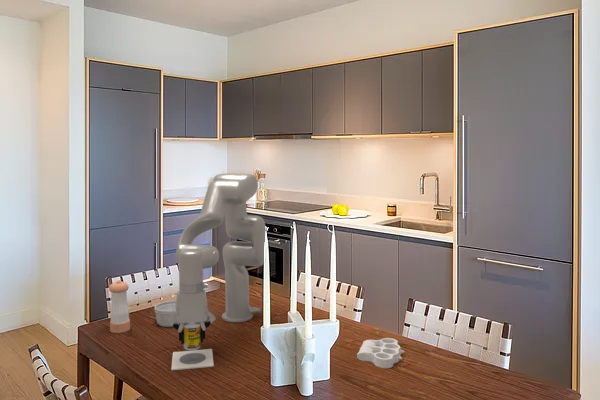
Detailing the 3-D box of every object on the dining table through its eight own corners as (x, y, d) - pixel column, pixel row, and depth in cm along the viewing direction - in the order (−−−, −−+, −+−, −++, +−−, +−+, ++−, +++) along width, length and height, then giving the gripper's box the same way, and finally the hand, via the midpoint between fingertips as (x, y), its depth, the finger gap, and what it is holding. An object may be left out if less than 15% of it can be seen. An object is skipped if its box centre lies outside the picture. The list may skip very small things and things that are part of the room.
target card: (212, 350, 165) (212, 348, 164) (213, 366, 152) (213, 365, 152) (172, 353, 162) (172, 351, 162) (171, 370, 149) (171, 368, 149)
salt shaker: (134, 327, 185) (132, 279, 183) (121, 334, 178) (119, 284, 176) (118, 325, 188) (117, 277, 186) (105, 331, 181) (103, 282, 179)
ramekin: (196, 320, 193) (195, 304, 192) (171, 331, 182) (170, 313, 181) (173, 314, 200) (172, 298, 199) (147, 324, 189) (147, 307, 188)
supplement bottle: (187, 352, 152) (186, 321, 151) (181, 346, 157) (180, 316, 156) (203, 348, 155) (203, 318, 154) (197, 342, 160) (196, 313, 159)
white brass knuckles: (365, 344, 171) (406, 349, 167) (354, 365, 154) (401, 371, 150) (365, 334, 171) (406, 340, 166) (355, 355, 154) (401, 361, 149)
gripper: (217, 283, 160) (218, 335, 162) (164, 286, 156) (165, 339, 158) (218, 289, 153) (219, 344, 154) (162, 292, 149) (164, 348, 151)
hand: (192, 341), depth 156 cm, fingers closed on supplement bottle, 5 cm apart
